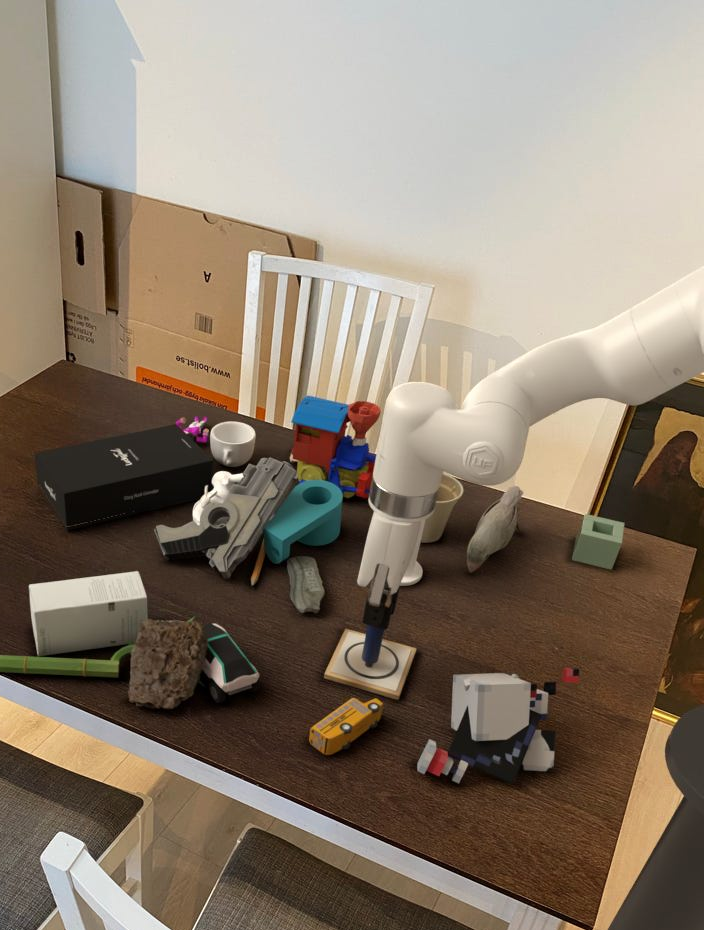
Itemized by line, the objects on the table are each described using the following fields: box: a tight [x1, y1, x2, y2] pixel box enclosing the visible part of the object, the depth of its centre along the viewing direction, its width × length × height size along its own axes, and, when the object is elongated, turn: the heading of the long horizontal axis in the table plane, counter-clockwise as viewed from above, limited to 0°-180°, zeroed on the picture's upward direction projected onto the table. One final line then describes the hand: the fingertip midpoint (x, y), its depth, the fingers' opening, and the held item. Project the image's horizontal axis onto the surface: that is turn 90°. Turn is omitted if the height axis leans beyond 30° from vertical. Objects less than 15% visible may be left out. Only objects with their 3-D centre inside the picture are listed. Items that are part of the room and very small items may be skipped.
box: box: [34, 423, 214, 531], centre depth 151 cm, size 25×14×7 cm, turn 117°
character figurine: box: [175, 415, 210, 444], centre depth 166 cm, size 6×5×12 cm
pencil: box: [250, 513, 275, 587], centre depth 143 cm, size 1×1×19 cm
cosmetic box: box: [28, 570, 149, 657], centre depth 124 cm, size 8×6×15 cm
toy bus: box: [308, 697, 384, 756], centre depth 114 cm, size 3×10×4 cm
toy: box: [416, 667, 580, 786], centre depth 112 cm, size 12×17×15 cm
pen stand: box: [571, 513, 626, 571], centre depth 145 cm, size 6×6×5 cm
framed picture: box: [323, 628, 417, 701], centre depth 124 cm, size 10×10×1 cm
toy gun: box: [153, 457, 299, 580], centre depth 140 cm, size 4×21×15 cm
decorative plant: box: [0, 615, 205, 687], centre depth 121 cm, size 6×8×30 cm
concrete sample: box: [126, 618, 208, 710], centre depth 117 cm, size 12×10×5 cm
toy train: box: [290, 394, 382, 499], centre depth 153 cm, size 10×16×15 cm, turn 68°
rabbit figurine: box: [192, 470, 244, 525], centre depth 144 cm, size 12×8×10 cm, turn 149°
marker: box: [362, 590, 388, 667], centre depth 119 cm, size 2×2×13 cm
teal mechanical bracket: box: [263, 480, 344, 565], centre depth 143 cm, size 7×15×8 cm
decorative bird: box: [466, 485, 524, 573], centre depth 144 cm, size 5×16×8 cm, turn 147°
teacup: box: [209, 421, 257, 468], centre depth 160 cm, size 10×8×5 cm
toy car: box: [200, 622, 261, 704], centre depth 120 cm, size 6×12×5 cm, turn 28°
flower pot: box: [420, 472, 464, 544], centre depth 146 cm, size 9×9×9 cm
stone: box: [286, 555, 325, 614], centre depth 136 cm, size 12×2×5 cm
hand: (378, 617), depth 118 cm, fingers closed on marker, 2 cm apart
